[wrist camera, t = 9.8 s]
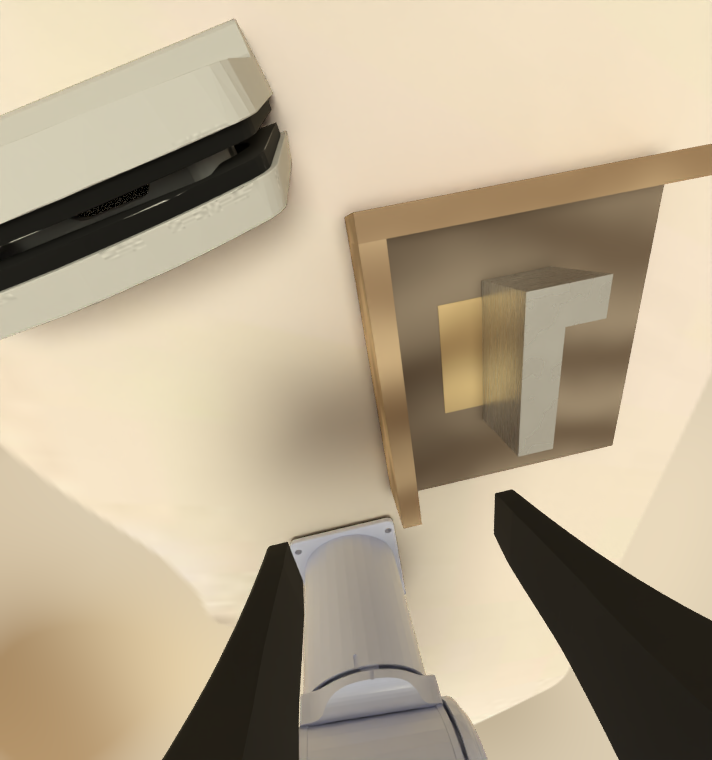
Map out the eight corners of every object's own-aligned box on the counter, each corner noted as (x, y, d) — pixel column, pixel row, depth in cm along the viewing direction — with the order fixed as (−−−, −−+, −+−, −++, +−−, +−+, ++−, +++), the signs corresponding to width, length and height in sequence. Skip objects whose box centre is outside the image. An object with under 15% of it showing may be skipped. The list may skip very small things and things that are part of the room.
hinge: (245, 19, 13) (240, -52, 6) (293, 155, 16) (327, 215, 9) (-129, 174, 13) (-559, 284, 6) (-8, 276, 17) (-198, 422, 10)
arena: (603, 439, 25) (612, 445, 24) (406, 485, 24) (409, 493, 23) (650, 183, 18) (665, 181, 17) (371, 238, 17) (374, 238, 16)
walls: (603, 439, 25) (648, 470, 21) (390, 488, 24) (403, 528, 21) (654, 157, 17) (736, 139, 14) (344, 217, 16) (353, 212, 13)
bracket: (481, 280, 18) (526, 292, 14) (551, 266, 18) (613, 273, 14) (482, 419, 21) (518, 456, 18) (540, 406, 22) (586, 440, 18)
